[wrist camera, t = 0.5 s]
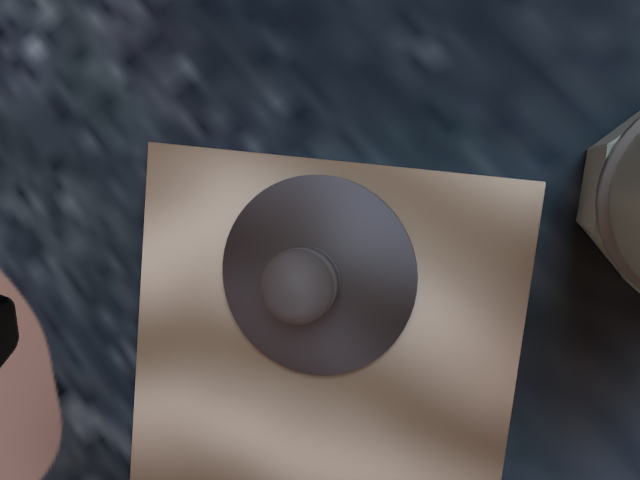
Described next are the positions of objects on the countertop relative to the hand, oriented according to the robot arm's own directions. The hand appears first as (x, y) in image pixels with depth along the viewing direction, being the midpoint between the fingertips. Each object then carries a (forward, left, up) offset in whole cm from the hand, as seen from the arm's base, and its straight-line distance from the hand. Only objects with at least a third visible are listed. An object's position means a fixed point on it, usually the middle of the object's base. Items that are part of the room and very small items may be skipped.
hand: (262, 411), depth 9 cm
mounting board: (-4, +3, -13) cm, 14 cm away
